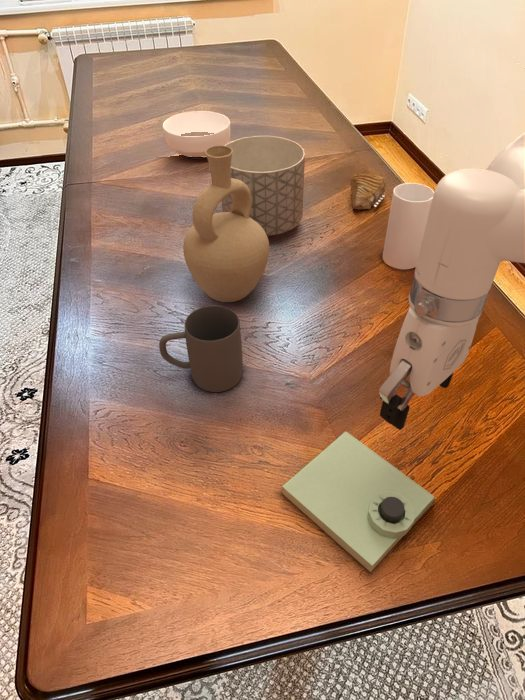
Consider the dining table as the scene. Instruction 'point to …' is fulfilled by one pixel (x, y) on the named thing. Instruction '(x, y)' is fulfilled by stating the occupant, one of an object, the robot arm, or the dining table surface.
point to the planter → (270, 180)
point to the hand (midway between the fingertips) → (414, 401)
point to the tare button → (392, 509)
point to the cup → (407, 224)
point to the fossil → (367, 190)
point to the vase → (225, 236)
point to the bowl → (196, 123)
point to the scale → (356, 498)
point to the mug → (210, 348)
